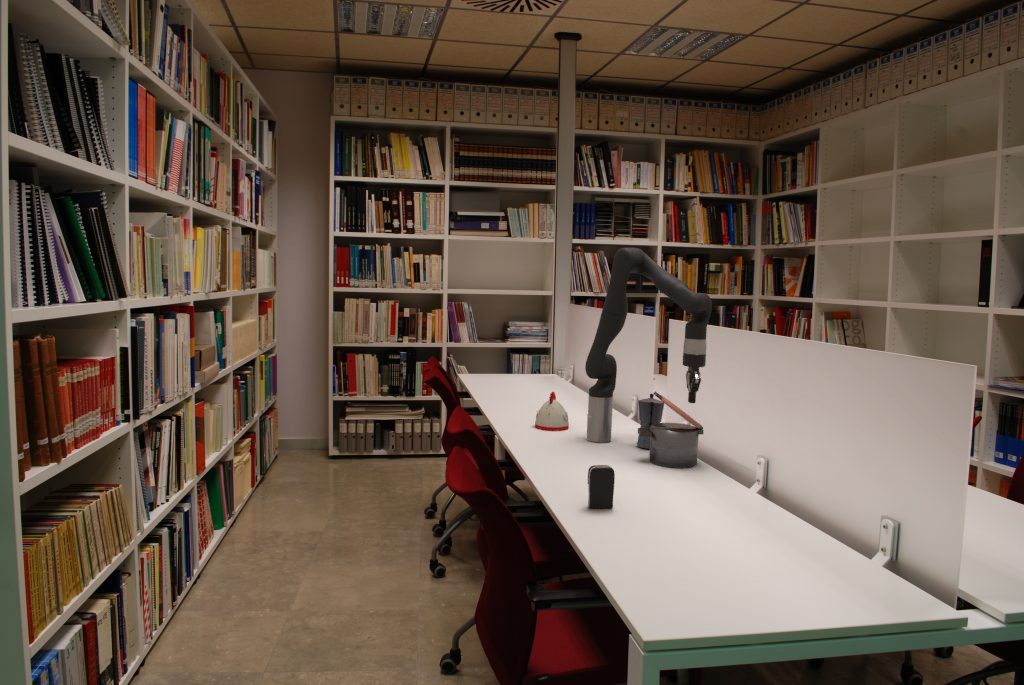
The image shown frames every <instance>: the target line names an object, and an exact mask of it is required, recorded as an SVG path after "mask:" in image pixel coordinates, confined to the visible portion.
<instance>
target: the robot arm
mask: <svg viewBox="0 0 1024 685" xmlns="http://www.w3.org/2000/svg"><path fill="white" fill-rule="evenodd" d="M631 274H638V275H641V276H643V277H645V278H647V279H648V280H649V281H651V282H652V284H653V285H654V286H655V288H656V289H657V290H658V291H659V292H661V293H662V294H663V295H665V296H666V297H667V298H669V299H671V300H673V301H674V302H675V303H676V305H678V307H679V308H681V309H682V310H683V311H685V313H687V314H690V315H691V319H690V320H689V321H687V322H686V323H685V326H684V327H685V328H684V340H683V345H682V346H683V348H682V349H683V352H682V365H683V366H684V367H687V370H686V373H685V380H686V389H687V392H688V393H687V394H688V397H687V398H688V399H687V402H688V403H689V404H695V403H696V401H697V400H696V397H697V392H699V389H700V385H701V382H702V378H701V372H700V368H704V367H706V362H707V361H706V360H707V328H708V327H707V326H708V324H709V322H710V318H711V313H712V310H713V302H712V298H711V297H710V296H709V294H707V293H705V292H694V291H692V290H690V287H689V286H688V284H687V283H686V282H684V281H682V280H681V279H680V278H678V277H676V276H674V275H673V274H671V273H670V272H668V271H667V270H665V269H664V268H662V267H661V266H660V265H659V264H658V263H656V262H655V261H654V260H653V259H652V258H651V257H650V256H649V255H648V254H647V253H646V252H645V251H643V250H642V249H641V248H638V247H620V248H619V249H618V250H617V251H616V252H615V254H614V256H613V261H612V265H611V271H610V277H609V283H608V287H607V292H606V295H605V300H604V304H603V307H602V310H601V314H600V317H599V322H598V326H597V329H596V332H595V336H594V339H593V341H592V345H591V347H590V349H589V353H588V356H587V358H586V361H585V367H584V370H585V374H586V376H587V377H588V378H590V379H593V380H597V381H596V382H595V384H593V385H592V386H591V387H590V388H588V405H587V406H588V408H587V409H588V410H587V421H586V440H587V442H593V443H609V442H611V441H612V427H613V426H612V424H613V402H614V391H615V389H616V384H617V371H618V366H617V361H616V358H615V357H614V355H612V354H609V353H607V352H608V350H609V348H610V346H611V344H612V342H613V341H614V340H615V339H616V337H617V336H618V335H619V334H620V333H621V331H622V329H624V326H625V323H626V319H627V316H628V312H629V303H628V297H627V284H628V281H629V278H630V275H631Z"/></svg>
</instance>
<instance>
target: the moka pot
mask: <svg viewBox="0 0 1024 685" xmlns="http://www.w3.org/2000/svg"><path fill="white" fill-rule="evenodd" d="M654 397H655V395H654V394H653V393H650V394H649V397H647V398H643V399H639V400H638V401H637V402H638V418H639V421H640V427H639V428H650V430H651V425H652V424H656V423H662V419H663V414H664V413H663V412H664V407H665V403H664V402H662V401H661V400H660V399H658V398H657V399H656V398H654ZM636 446H637V448H642V449H647V450H650V437H645V436H640V435H639V434H638V438H637V443H636Z"/></svg>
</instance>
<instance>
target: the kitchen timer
mask: <svg viewBox="0 0 1024 685" xmlns="http://www.w3.org/2000/svg"><path fill="white" fill-rule="evenodd" d="M569 426H570V422H569V415H568V411H566V409H565V407H564V406H563V405H562V403H561V402H560V401H558V400H557V396H556V393H555V391H552V392H551V393H550V394H549V399H548V400H547V401H545V402H543V404H542V405H541V407H540V408H539V410H537V411H536V415H535V424H534V428H535V429H536V430H539V431H544V432H563V431H568V430H569V428H570V427H569Z"/></svg>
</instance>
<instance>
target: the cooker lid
mask: <svg viewBox="0 0 1024 685" xmlns="http://www.w3.org/2000/svg"><path fill="white" fill-rule="evenodd" d="M652 394H654V397H656V398H657V399H658V400H660V401H662V402H664V405H666V406H667V407H668V408H670V409H671V410H672V411H673V412H675V413H676V414H677V415H679V416H680V417H682V418H683V419H684V420H686V421H687V422H688V423H690V424H691V426H695V427H697V428H698V429H700V430H702V429H703V430H704V427H703V425H701V423H699V422H698V421H696V420H695V419H694V418H693V417H692V416H690V415H689V414H687V413H686V412H685V411H683V410H682V409H681V408H679V407H678V406H677V405H676V404H675V403H673V402H671V400H669V399H667V398H666V397H664V396H663V395H661V394H659V393H658V392H657V391H654V392H653V393H652Z"/></svg>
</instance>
